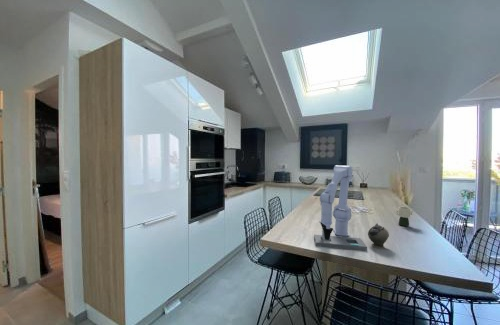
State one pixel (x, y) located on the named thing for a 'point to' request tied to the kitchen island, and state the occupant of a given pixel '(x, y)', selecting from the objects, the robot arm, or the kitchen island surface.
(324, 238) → the plug block
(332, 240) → the grey mounting plate
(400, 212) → the character mug
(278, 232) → the kitchen island surface
